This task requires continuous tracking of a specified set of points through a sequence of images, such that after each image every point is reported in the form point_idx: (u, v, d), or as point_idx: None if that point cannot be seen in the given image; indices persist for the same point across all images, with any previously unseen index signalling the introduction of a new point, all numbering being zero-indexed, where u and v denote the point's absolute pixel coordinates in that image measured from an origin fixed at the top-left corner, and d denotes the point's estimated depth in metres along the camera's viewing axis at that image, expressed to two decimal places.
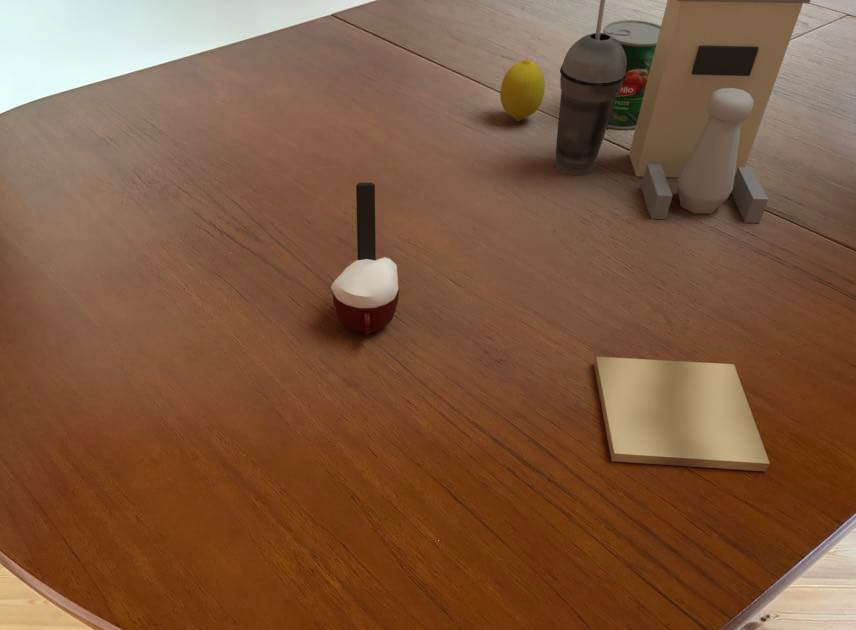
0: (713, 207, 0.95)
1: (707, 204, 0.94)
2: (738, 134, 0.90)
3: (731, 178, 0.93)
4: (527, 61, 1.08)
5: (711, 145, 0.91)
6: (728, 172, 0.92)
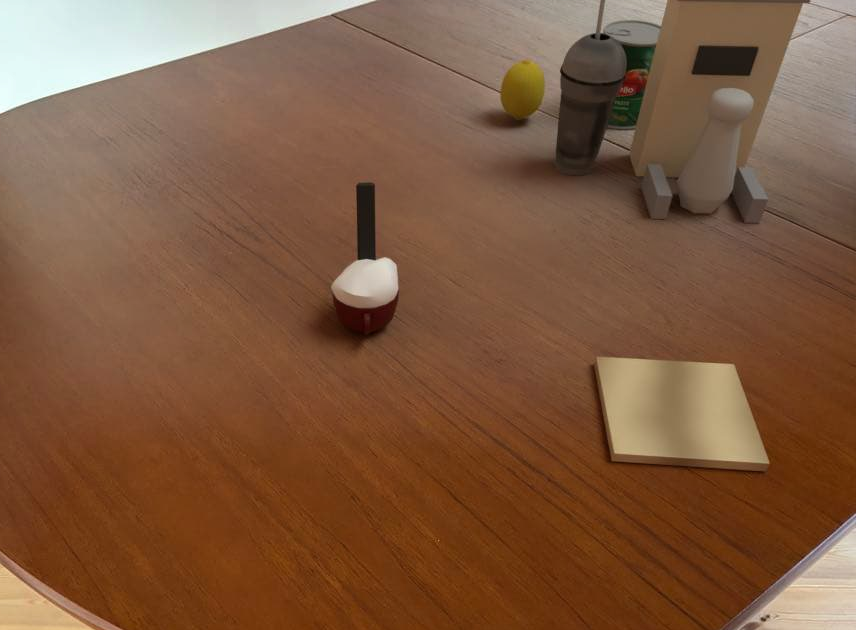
0: (713, 207, 0.95)
1: (707, 204, 0.94)
2: (738, 134, 0.90)
3: (731, 178, 0.93)
4: (527, 61, 1.08)
5: (711, 145, 0.91)
6: (728, 172, 0.92)
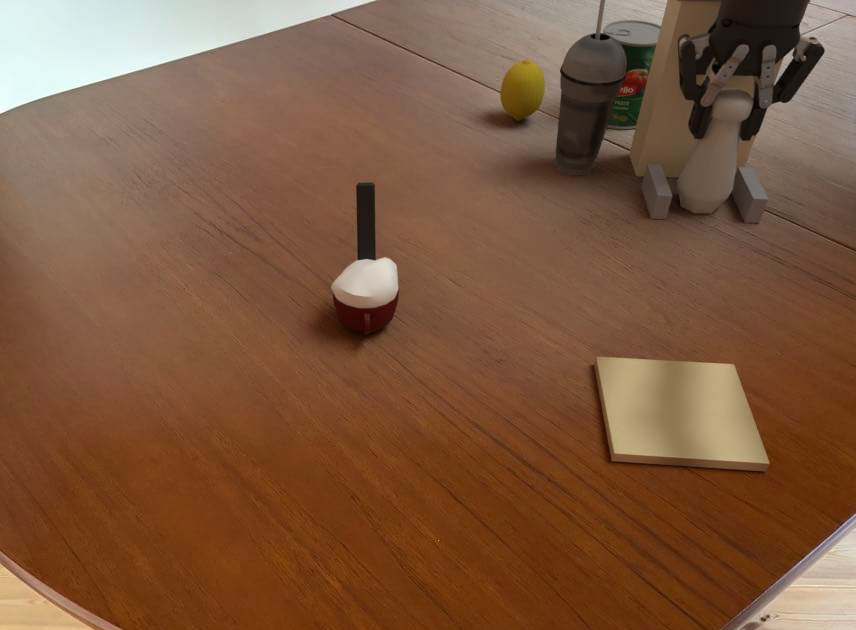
0: (713, 207, 0.95)
1: (707, 204, 0.94)
2: (738, 134, 0.90)
3: (731, 178, 0.93)
4: (527, 61, 1.08)
5: (711, 145, 0.91)
6: (728, 172, 0.92)
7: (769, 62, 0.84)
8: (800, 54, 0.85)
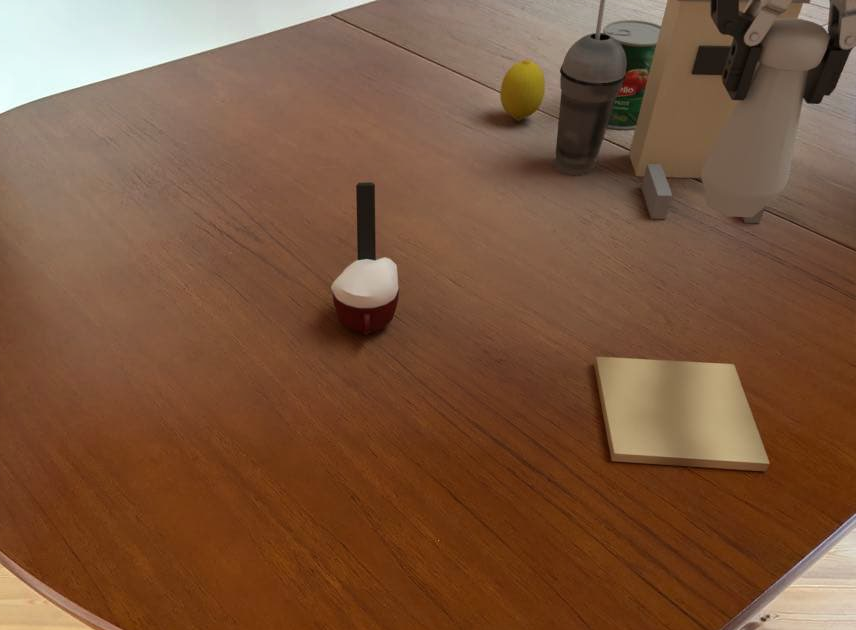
0: (757, 208, 0.62)
1: (748, 202, 0.61)
2: (802, 93, 0.57)
3: (787, 163, 0.60)
4: (527, 61, 1.08)
5: (758, 109, 0.58)
6: (784, 153, 0.59)
7: None
8: None
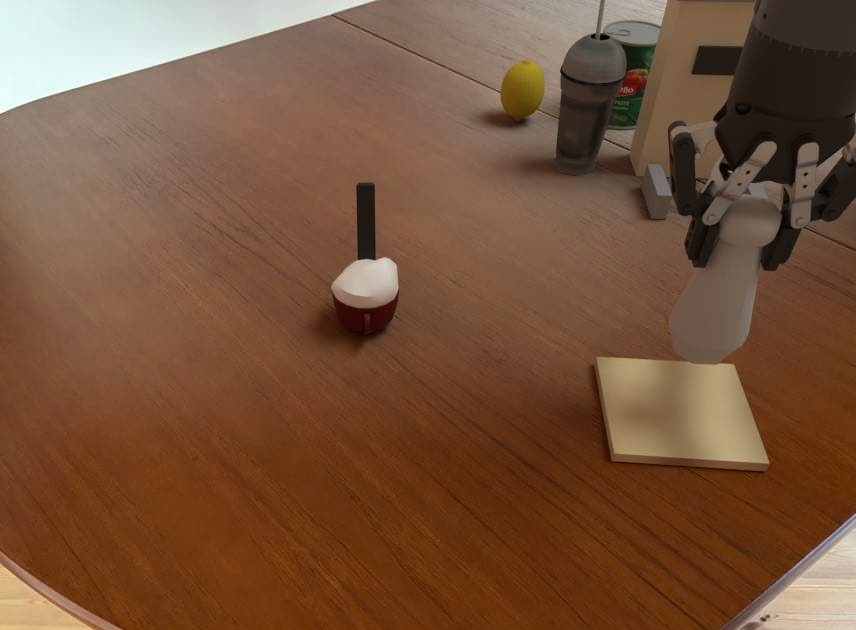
0: (721, 358, 0.66)
1: (712, 354, 0.65)
2: (758, 261, 0.61)
3: (747, 320, 0.64)
4: (527, 61, 1.08)
5: (718, 276, 0.62)
6: (743, 313, 0.63)
7: (807, 166, 0.55)
8: (854, 153, 0.55)
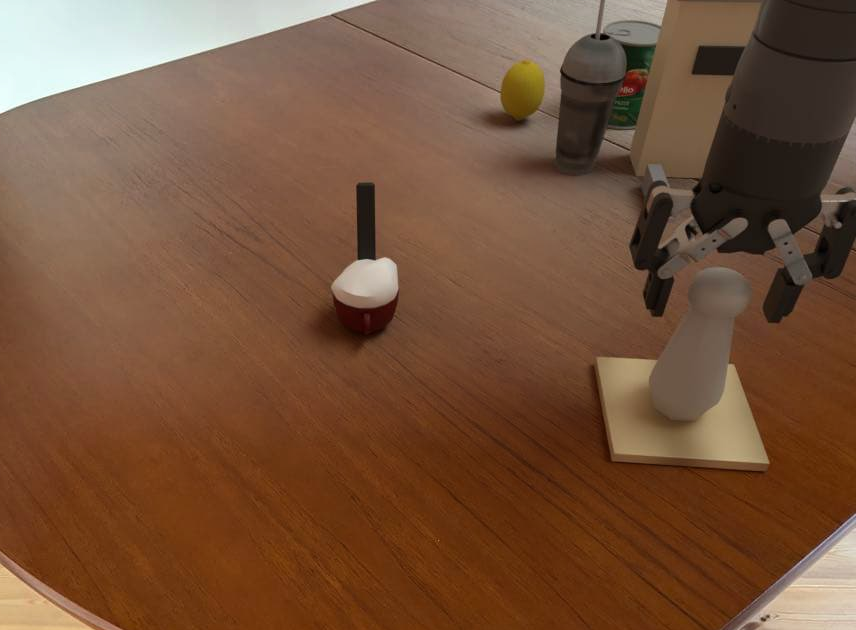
0: (697, 415, 0.70)
1: (689, 413, 0.69)
2: (731, 329, 0.66)
3: (722, 381, 0.68)
4: (527, 61, 1.08)
5: (693, 343, 0.66)
6: (718, 375, 0.67)
7: (784, 237, 0.59)
8: (831, 218, 0.59)
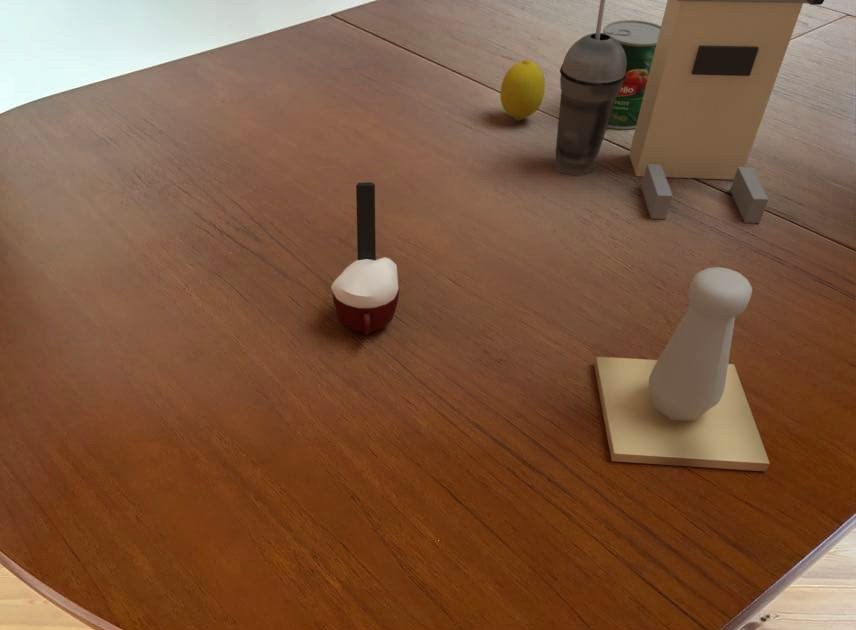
0: (697, 415, 0.70)
1: (689, 413, 0.69)
2: (731, 329, 0.66)
3: (722, 381, 0.68)
4: (527, 61, 1.08)
5: (693, 343, 0.66)
6: (718, 376, 0.67)
7: None
8: None
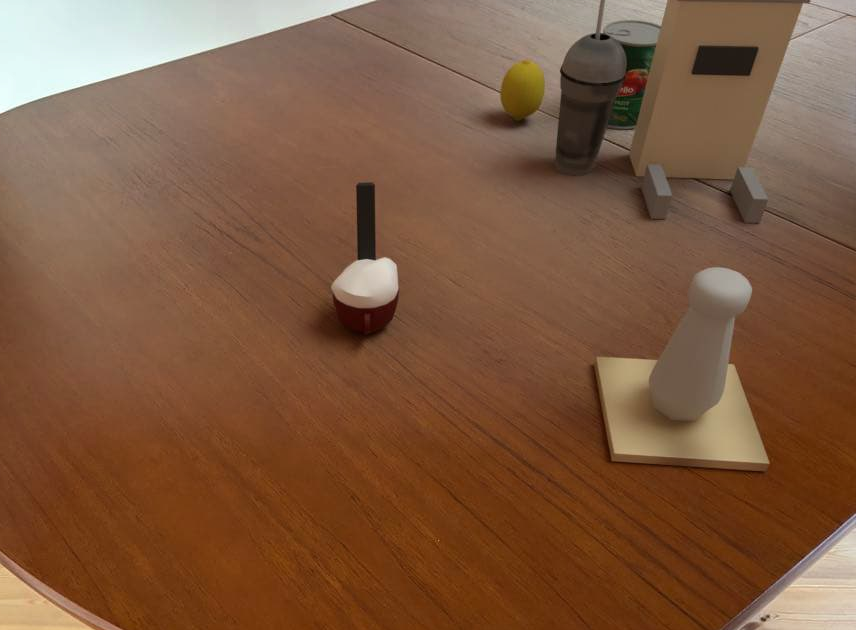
0: (697, 415, 0.70)
1: (689, 413, 0.69)
2: (731, 329, 0.66)
3: (722, 381, 0.68)
4: (527, 61, 1.08)
5: (693, 343, 0.66)
6: (718, 375, 0.67)
7: None
8: None
